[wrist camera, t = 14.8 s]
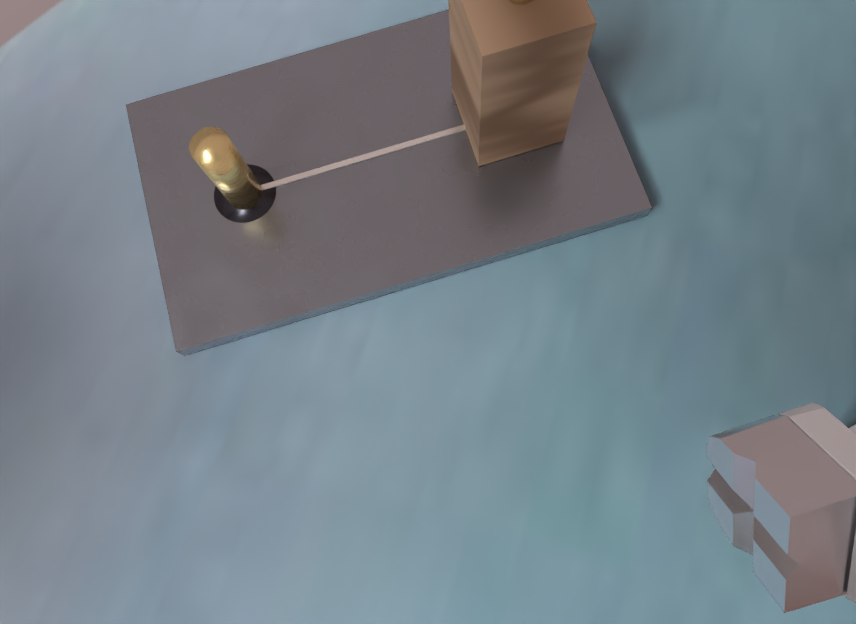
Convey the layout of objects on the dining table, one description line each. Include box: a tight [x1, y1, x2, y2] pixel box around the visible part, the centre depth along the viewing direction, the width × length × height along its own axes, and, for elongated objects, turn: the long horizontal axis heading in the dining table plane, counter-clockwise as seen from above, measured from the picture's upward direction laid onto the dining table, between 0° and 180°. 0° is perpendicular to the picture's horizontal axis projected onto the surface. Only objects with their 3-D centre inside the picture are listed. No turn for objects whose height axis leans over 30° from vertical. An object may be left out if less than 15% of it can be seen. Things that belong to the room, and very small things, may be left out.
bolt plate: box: [126, 10, 652, 356], centre depth 33 cm, size 24×14×6 cm, turn 107°
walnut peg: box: [449, 0, 596, 166], centre depth 30 cm, size 4×4×10 cm
